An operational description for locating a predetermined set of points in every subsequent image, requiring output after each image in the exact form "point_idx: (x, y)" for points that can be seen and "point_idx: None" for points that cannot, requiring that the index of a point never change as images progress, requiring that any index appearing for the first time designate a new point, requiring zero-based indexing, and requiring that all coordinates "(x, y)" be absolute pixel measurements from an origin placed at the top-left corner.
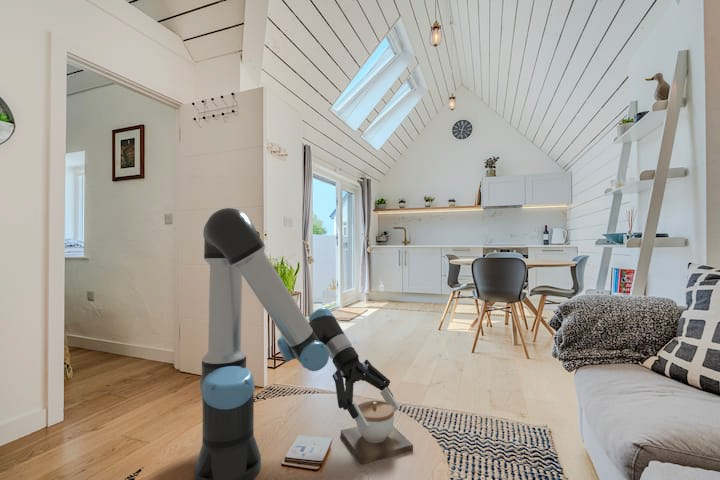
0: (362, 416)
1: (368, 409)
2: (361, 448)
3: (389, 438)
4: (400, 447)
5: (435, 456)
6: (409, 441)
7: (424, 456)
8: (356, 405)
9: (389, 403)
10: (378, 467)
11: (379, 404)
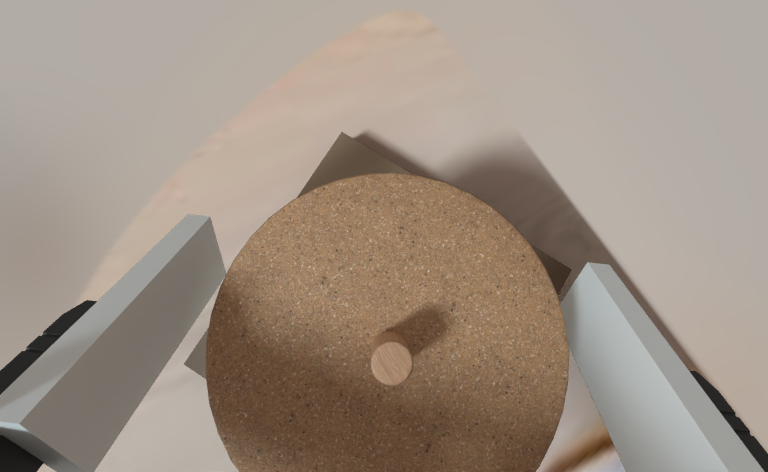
0: (645, 325)
1: (449, 384)
2: None
3: None
4: (395, 167)
5: (333, 55)
6: (325, 156)
7: (357, 89)
8: (734, 454)
9: (182, 310)
10: (527, 202)
11: (293, 354)
